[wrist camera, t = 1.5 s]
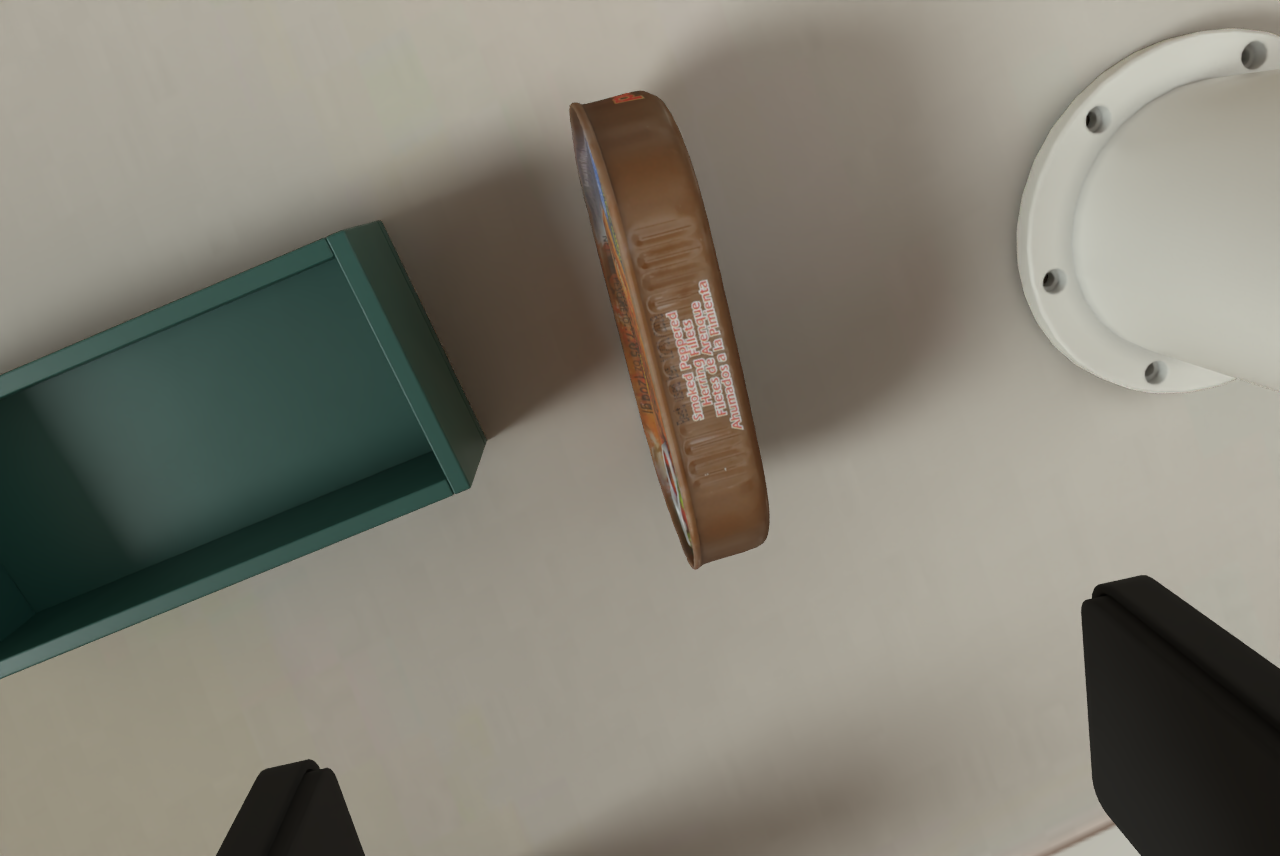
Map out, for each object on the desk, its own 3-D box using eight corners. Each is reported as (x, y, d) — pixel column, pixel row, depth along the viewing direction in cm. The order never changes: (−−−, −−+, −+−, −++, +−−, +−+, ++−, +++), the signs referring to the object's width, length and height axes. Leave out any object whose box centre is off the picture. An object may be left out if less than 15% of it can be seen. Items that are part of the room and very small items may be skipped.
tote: (381, 219, 31) (343, 229, 26) (487, 441, 33) (471, 488, 28) (-99, 422, 31) (-224, 469, 27) (40, 623, 34) (-51, 700, 29)
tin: (562, 114, 30) (555, 95, 22) (652, 91, 30) (678, 63, 22) (665, 514, 34) (690, 621, 26) (743, 494, 34) (794, 594, 26)
